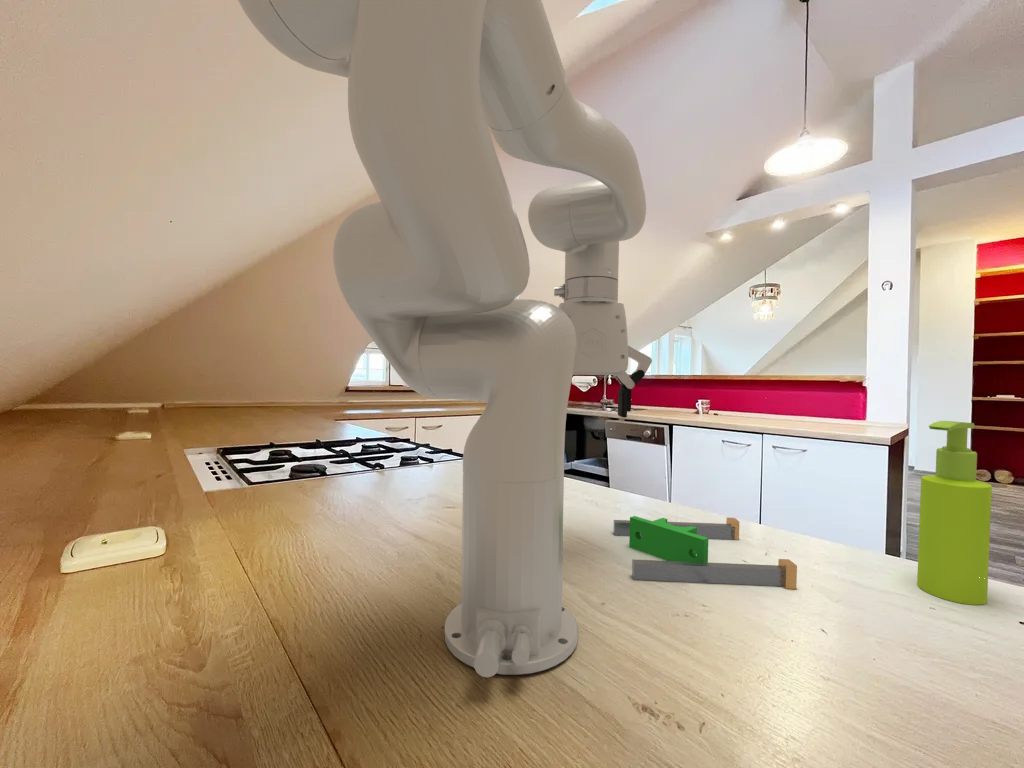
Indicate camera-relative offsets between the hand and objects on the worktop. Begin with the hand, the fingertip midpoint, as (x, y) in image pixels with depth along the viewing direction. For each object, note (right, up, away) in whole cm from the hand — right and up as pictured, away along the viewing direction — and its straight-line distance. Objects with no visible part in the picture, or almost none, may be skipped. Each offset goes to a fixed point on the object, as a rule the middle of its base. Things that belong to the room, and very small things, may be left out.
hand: (588, 415), depth 65 cm
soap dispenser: (+40, -20, -12) cm, 46 cm away
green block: (+11, -20, -2) cm, 22 cm away
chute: (+14, -19, -2) cm, 24 cm away
